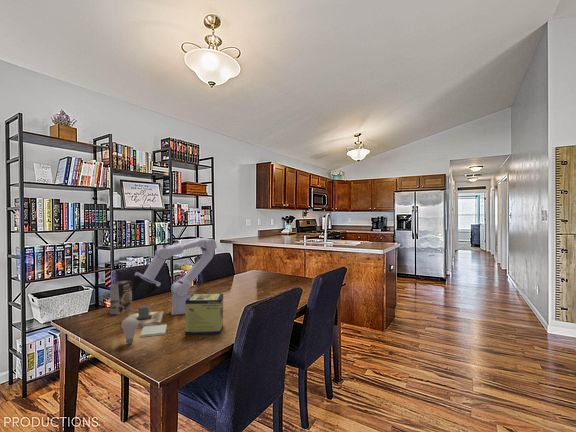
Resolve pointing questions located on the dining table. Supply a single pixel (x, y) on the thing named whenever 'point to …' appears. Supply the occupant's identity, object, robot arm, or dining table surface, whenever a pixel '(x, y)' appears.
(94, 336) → the dining table surface
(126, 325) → the lightbulb
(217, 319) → the protein box
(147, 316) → the peg
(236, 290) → the dining table surface
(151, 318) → the pocket board
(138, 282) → the robot arm
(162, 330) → the pad
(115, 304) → the coffee box
